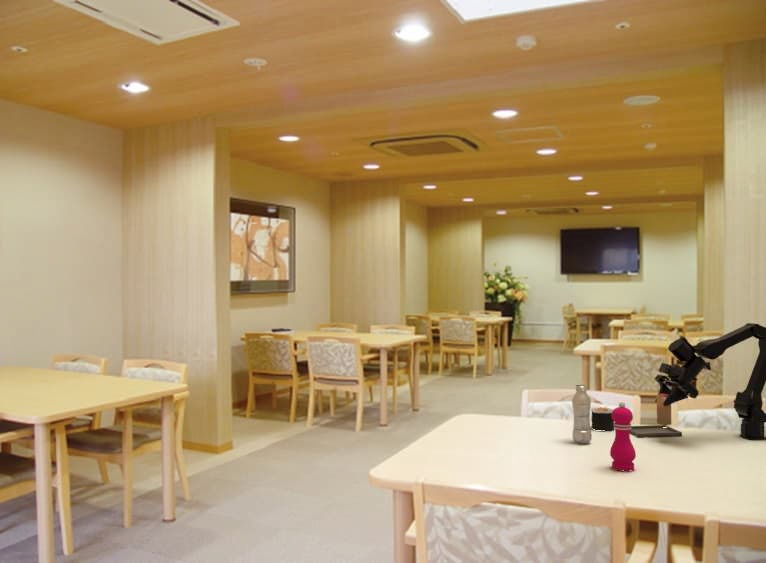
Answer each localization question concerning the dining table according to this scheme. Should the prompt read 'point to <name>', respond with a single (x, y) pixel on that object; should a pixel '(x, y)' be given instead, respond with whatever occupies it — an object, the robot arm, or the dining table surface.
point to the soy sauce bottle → (663, 410)
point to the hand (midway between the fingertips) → (660, 403)
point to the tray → (654, 431)
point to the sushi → (602, 419)
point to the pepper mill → (622, 439)
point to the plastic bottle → (581, 415)
